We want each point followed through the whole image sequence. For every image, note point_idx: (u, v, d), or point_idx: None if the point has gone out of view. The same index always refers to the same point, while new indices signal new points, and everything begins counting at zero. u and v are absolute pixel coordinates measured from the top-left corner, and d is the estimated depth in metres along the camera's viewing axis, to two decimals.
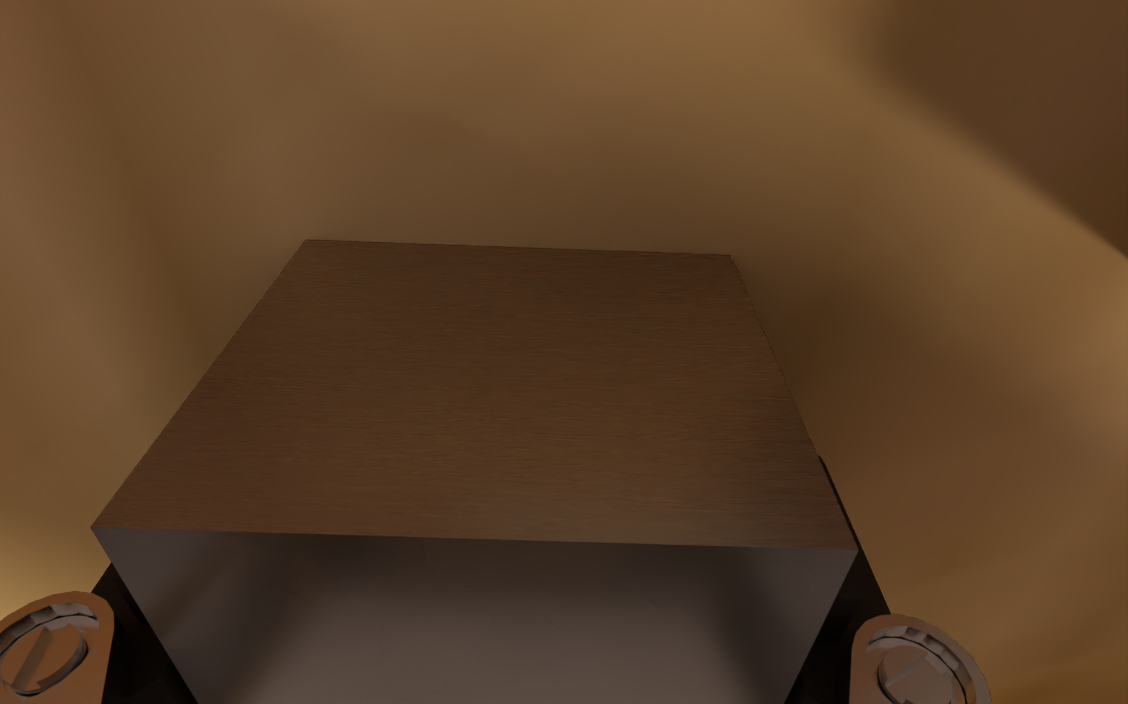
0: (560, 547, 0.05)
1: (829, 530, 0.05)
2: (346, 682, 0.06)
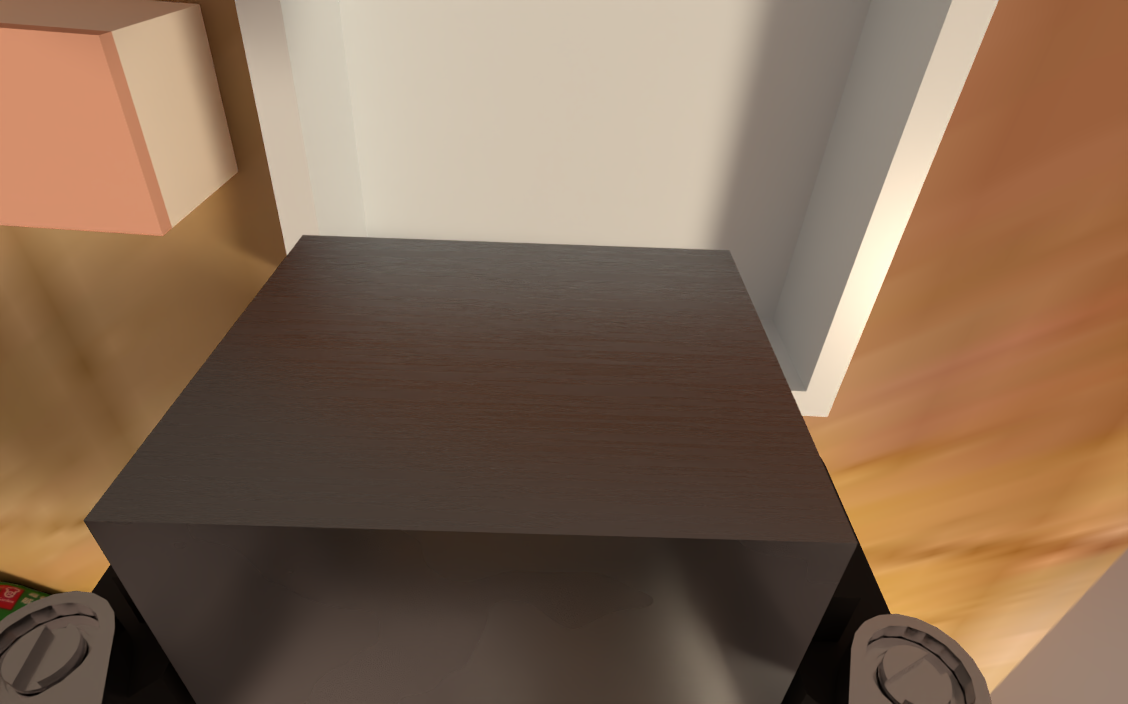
0: (556, 541, 0.05)
1: (829, 523, 0.05)
2: (343, 678, 0.06)
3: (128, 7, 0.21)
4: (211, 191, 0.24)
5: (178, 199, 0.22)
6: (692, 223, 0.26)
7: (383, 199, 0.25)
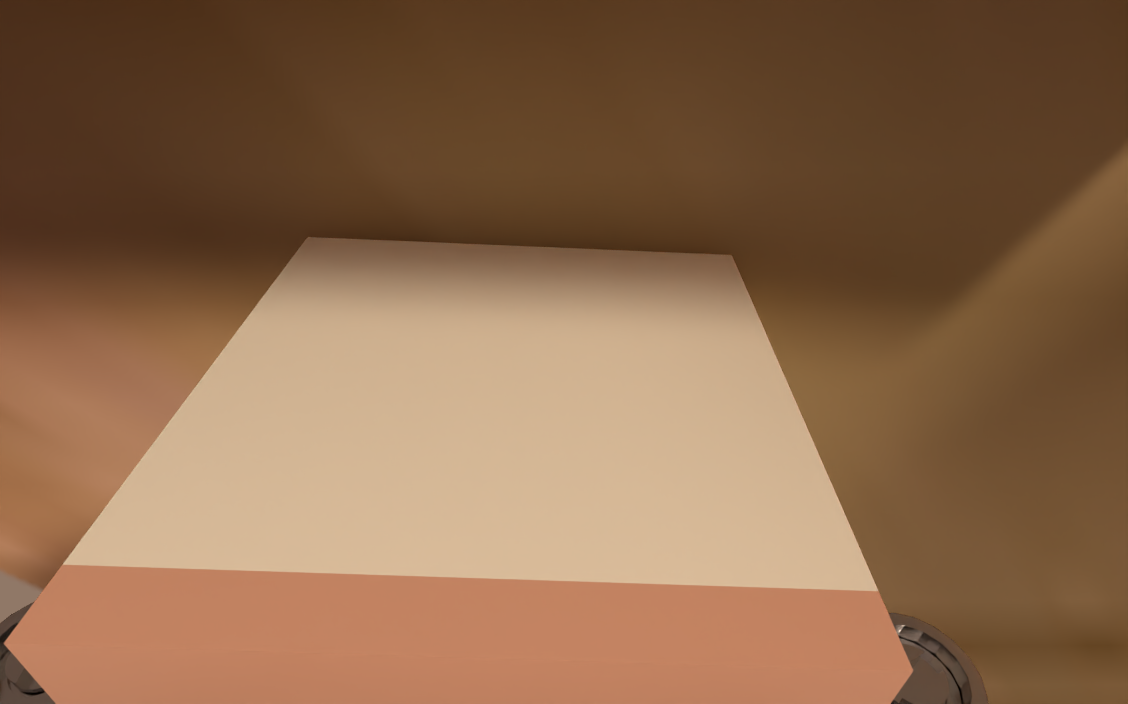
0: None
1: None
2: None
3: None
4: (767, 354, 0.07)
5: (762, 500, 0.05)
6: None
7: None
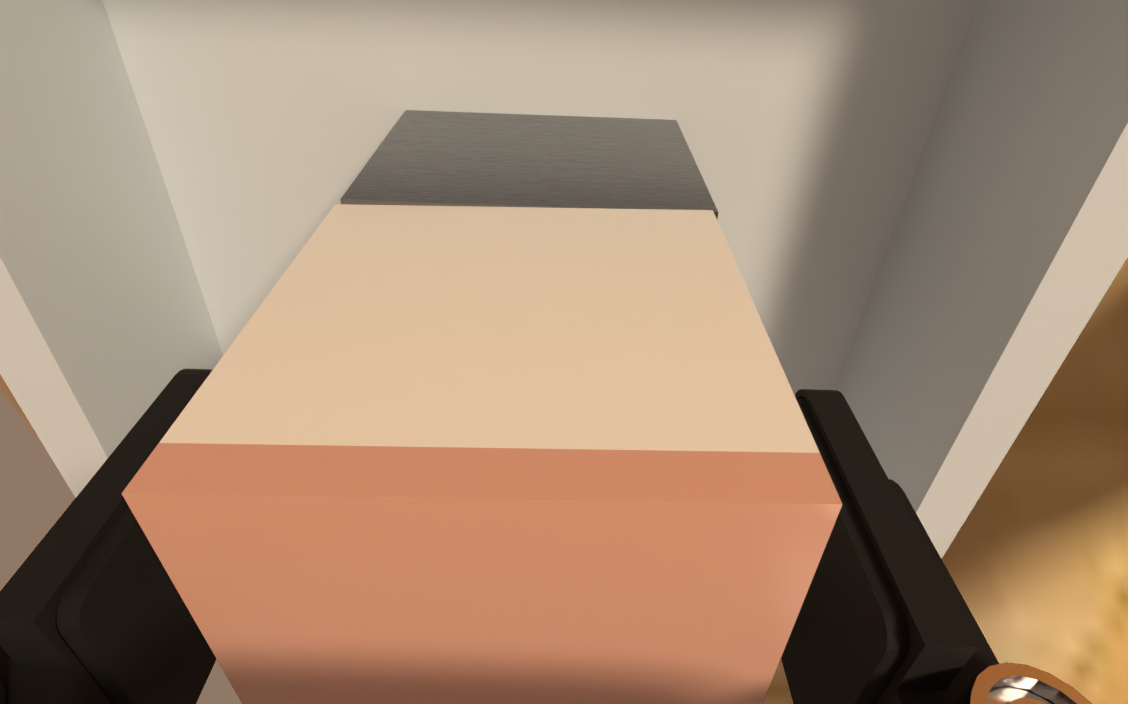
0: None
1: (345, 203, 0.10)
2: None
3: None
4: (740, 288, 0.08)
5: (728, 392, 0.07)
6: (750, 57, 0.14)
7: None
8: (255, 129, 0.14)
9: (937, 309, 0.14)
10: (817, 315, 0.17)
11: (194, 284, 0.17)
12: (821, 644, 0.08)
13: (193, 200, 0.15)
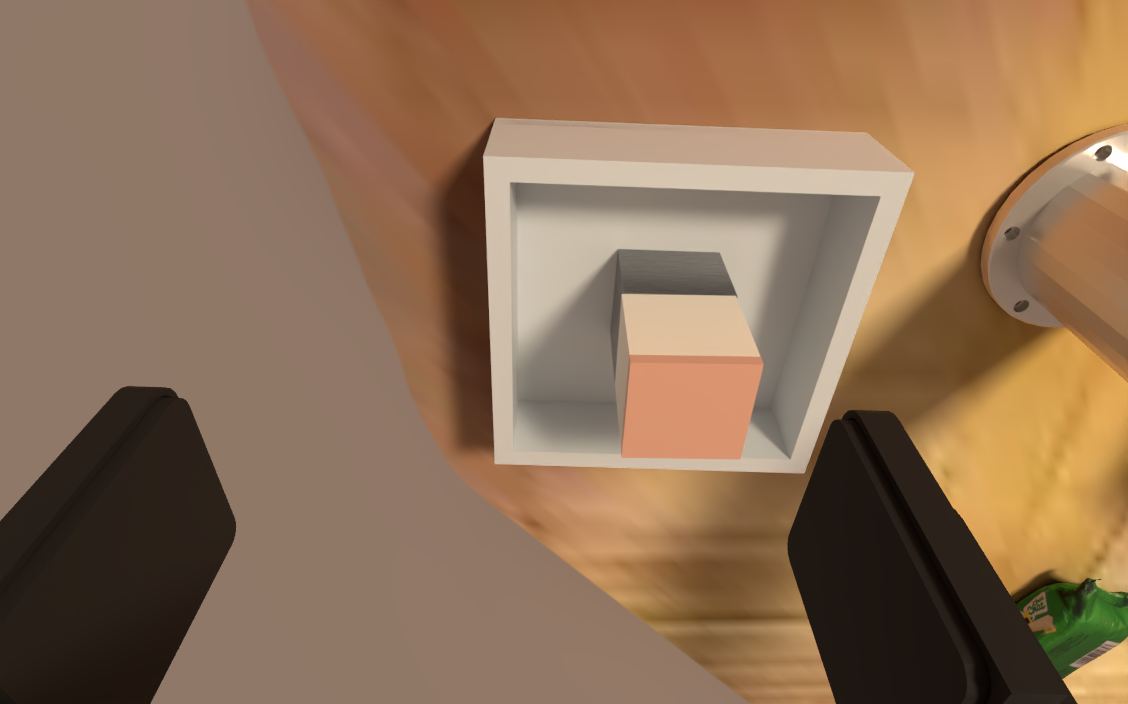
0: None
1: (623, 293, 0.34)
2: None
3: (621, 336, 0.33)
4: (744, 321, 0.32)
5: (741, 345, 0.30)
6: (747, 232, 0.37)
7: None
8: (559, 255, 0.38)
9: (816, 324, 0.37)
10: (776, 325, 0.41)
11: (518, 312, 0.40)
12: (882, 681, 0.07)
13: (526, 280, 0.39)
